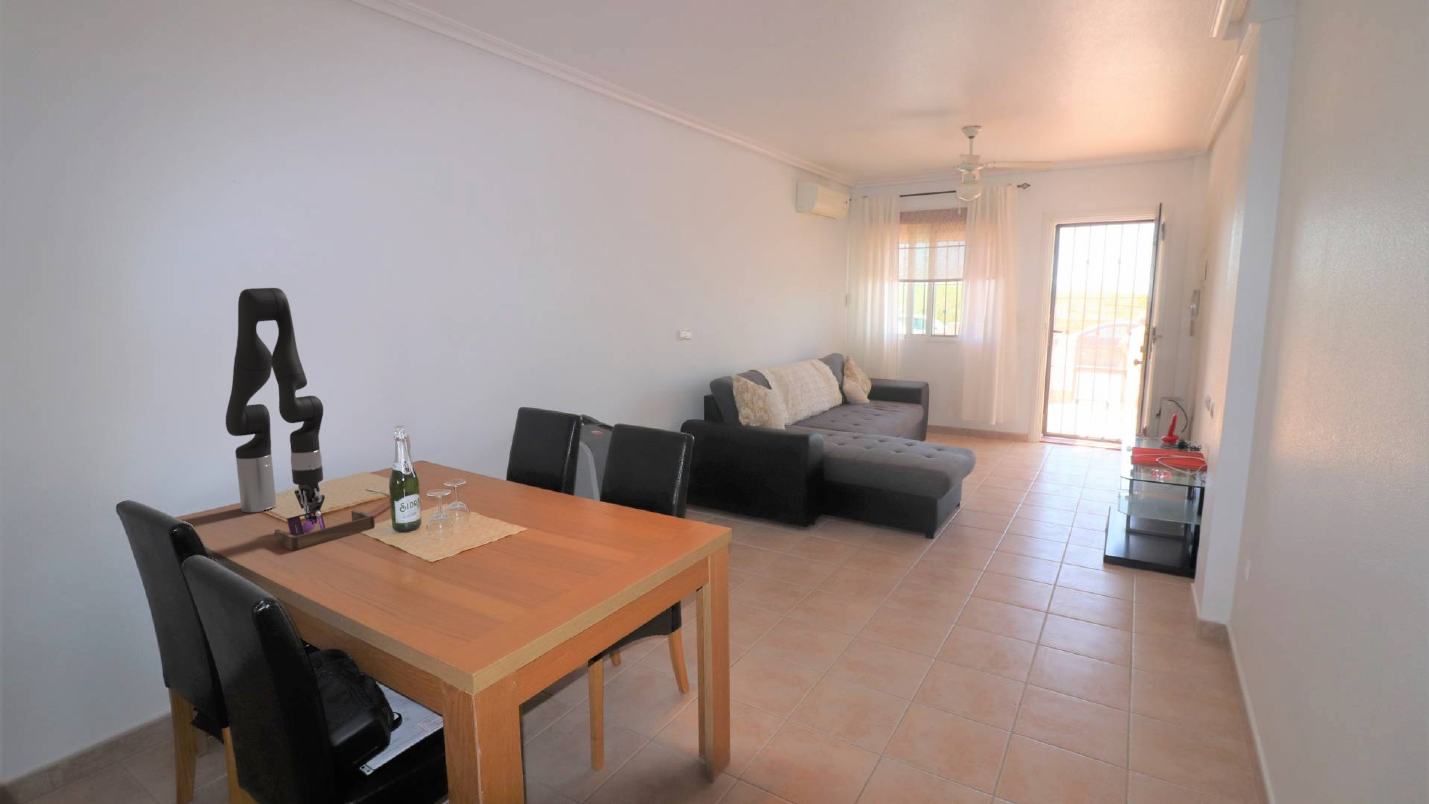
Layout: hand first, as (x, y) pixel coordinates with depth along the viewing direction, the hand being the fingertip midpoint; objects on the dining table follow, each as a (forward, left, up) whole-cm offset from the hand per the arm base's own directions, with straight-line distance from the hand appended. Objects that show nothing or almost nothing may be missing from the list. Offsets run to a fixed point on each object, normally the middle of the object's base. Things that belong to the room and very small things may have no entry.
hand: (312, 523), depth 194 cm
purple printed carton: (+4, -4, -2) cm, 6 cm away
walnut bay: (+8, 0, -2) cm, 8 cm away
